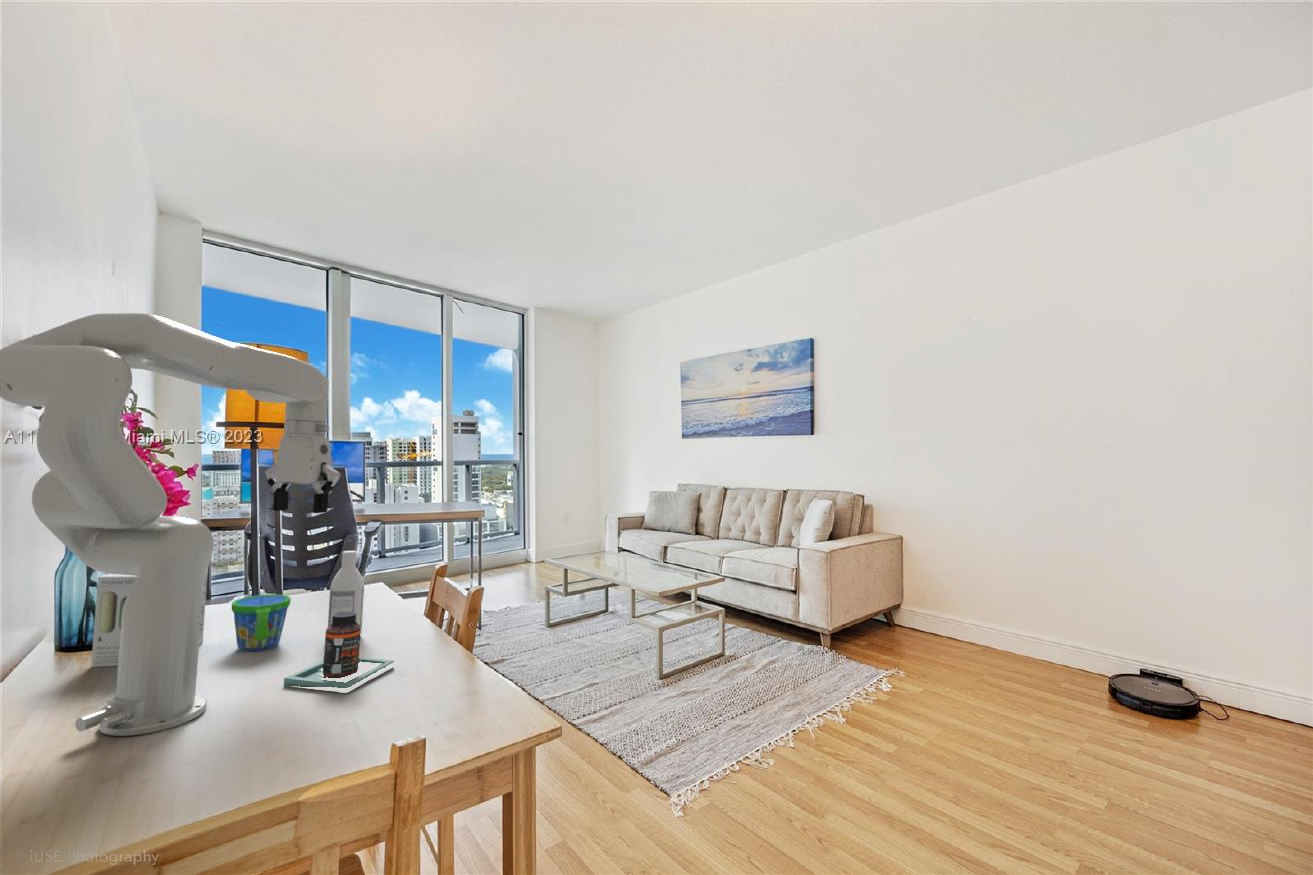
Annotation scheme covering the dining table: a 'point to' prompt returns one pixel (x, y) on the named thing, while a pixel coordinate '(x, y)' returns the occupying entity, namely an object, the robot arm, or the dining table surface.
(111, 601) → the supplement box
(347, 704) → the dining table surface
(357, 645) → the supplement bottle
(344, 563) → the bath foam
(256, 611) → the snack cup
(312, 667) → the tray
